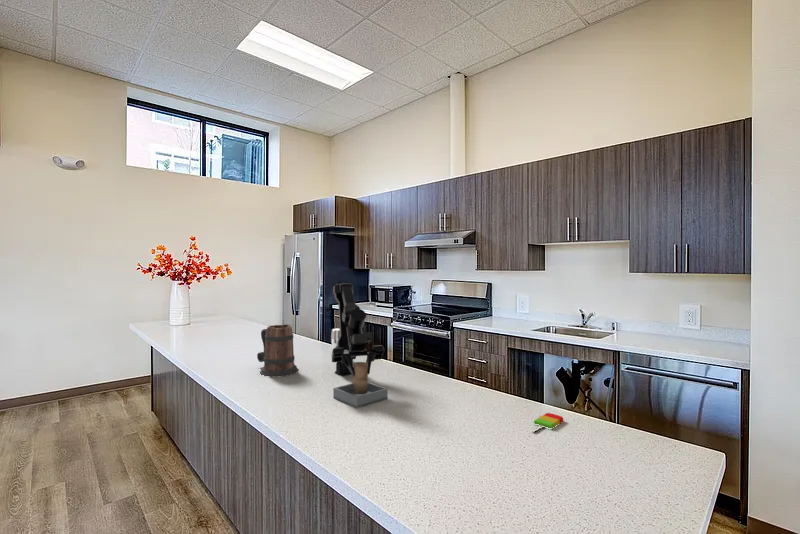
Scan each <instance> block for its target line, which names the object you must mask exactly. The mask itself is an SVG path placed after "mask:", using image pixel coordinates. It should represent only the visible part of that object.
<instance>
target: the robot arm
mask: <svg viewBox="0 0 800 534" xmlns="http://www.w3.org/2000/svg"><path fill="white" fill-rule="evenodd" d="M332 294H333V295H334V300H335V301H336V302H337V304H338V319H339V320H338V321H339V324H338V325H339V328H340V338H339V340H338V342H337V346H336V348H334V349H333V348H332V349H331V350H332V351H331V362H332V363H335V366H336V367H335V371H334V374H337V375H340V376H348V375H352V376H354V368H353V365H354V360H356V359H357V357H366V360H365V362H366V363H368V375H370V372H371V367H372V362H375V360H382V359H383V357H384V354H385V352H386V351H385V347H384V346H383V345H382V344H381V345H379V344H378V345H377V344H375V345H372V348H371V349H366V348H367V347H368V346H367V345H368V344H367V343H369V342H370V343H371V342H372V340H373V335H372V332H371V331H366V332H365V333H364V332H363V328H364V326H365V322H366V319H367V314H366V312H365V310H363V309H361V308H360V306H359V305H357V304H356V302H355V297H354V285H353V284H352V283H350V282H342V283H335V285H334V286H333V287H332Z"/></svg>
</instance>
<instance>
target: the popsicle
mask: <svg viewBox="0 0 800 534" xmlns="http://www.w3.org/2000/svg"><path fill="white" fill-rule="evenodd" d="M561 422H563V423H564V417H563V416H562V415H558V414H554V413H552V412H551V413H550V412H546V413H545V414H543V415H541V416H540V417H538V418H536V419H534V421H533V424H534V423H535V424H539V425H540V427H542V426H545V427H548V428H553V427H555V426H556V425H558V424H560V423H561ZM560 425H561V424H560Z"/></svg>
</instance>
